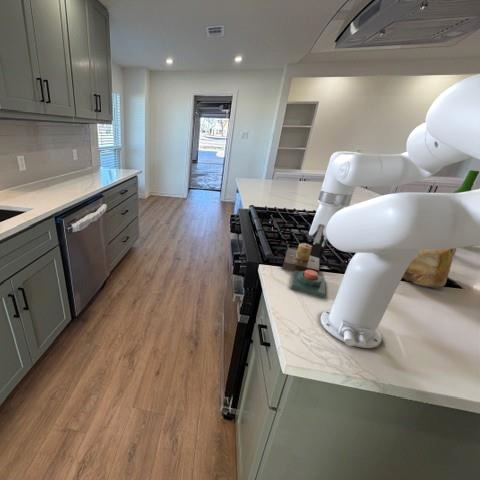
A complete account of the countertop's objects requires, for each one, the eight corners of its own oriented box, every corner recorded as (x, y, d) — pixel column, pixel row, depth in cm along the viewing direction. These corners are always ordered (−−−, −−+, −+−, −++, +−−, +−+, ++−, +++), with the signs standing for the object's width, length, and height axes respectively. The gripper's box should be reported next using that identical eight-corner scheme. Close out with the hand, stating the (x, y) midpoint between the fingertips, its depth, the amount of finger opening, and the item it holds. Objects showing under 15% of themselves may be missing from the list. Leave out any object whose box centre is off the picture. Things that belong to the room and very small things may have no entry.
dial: (293, 257, 94) (297, 244, 91) (298, 254, 96) (301, 241, 94) (306, 262, 91) (310, 248, 89) (310, 258, 93) (314, 245, 91)
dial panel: (316, 277, 87) (319, 270, 85) (281, 269, 92) (283, 261, 90) (317, 261, 98) (319, 254, 97) (286, 254, 103) (288, 247, 102)
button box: (323, 298, 76) (326, 288, 74) (290, 289, 80) (293, 279, 79) (323, 281, 85) (326, 272, 83) (293, 274, 89) (296, 265, 87)
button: (316, 281, 79) (317, 276, 78) (303, 277, 80) (304, 273, 80) (316, 276, 82) (318, 271, 81) (304, 273, 83) (305, 268, 83)
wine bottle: (444, 243, 118) (481, 172, 105) (422, 236, 126) (454, 169, 113) (457, 242, 120) (495, 172, 107) (435, 234, 128) (468, 169, 115)
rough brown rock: (388, 257, 104) (399, 223, 99) (447, 271, 92) (463, 232, 87) (374, 278, 91) (385, 239, 85) (441, 296, 79) (459, 253, 73)
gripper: (327, 192, 78) (310, 245, 85) (311, 200, 68) (294, 259, 76) (356, 196, 73) (336, 253, 81) (343, 206, 63) (322, 269, 71)
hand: (316, 256), depth 78 cm, fingers closed
